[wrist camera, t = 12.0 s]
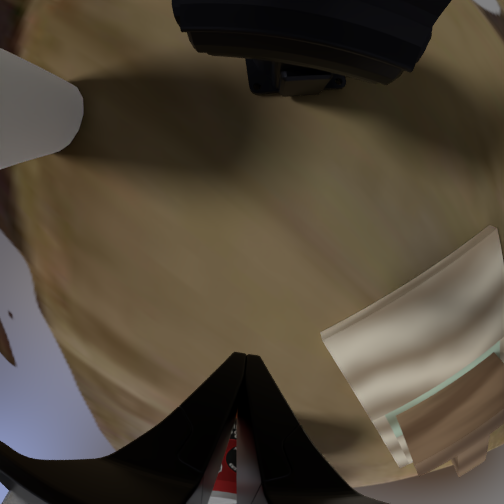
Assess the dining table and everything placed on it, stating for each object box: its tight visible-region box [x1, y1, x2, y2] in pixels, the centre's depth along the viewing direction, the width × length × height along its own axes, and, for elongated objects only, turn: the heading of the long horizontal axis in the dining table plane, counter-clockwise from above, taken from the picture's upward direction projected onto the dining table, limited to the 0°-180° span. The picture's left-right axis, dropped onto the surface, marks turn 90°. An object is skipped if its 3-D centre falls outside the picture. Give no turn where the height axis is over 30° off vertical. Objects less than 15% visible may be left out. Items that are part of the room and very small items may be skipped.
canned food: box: [208, 410, 238, 504], centre depth 22 cm, size 8×8×11 cm
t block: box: [396, 352, 504, 477], centre depth 21 cm, size 13×13×7 cm
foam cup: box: [0, 48, 84, 169], centre depth 12 cm, size 10×9×13 cm
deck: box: [320, 225, 504, 468], centre depth 23 cm, size 29×18×1 cm, turn 32°
